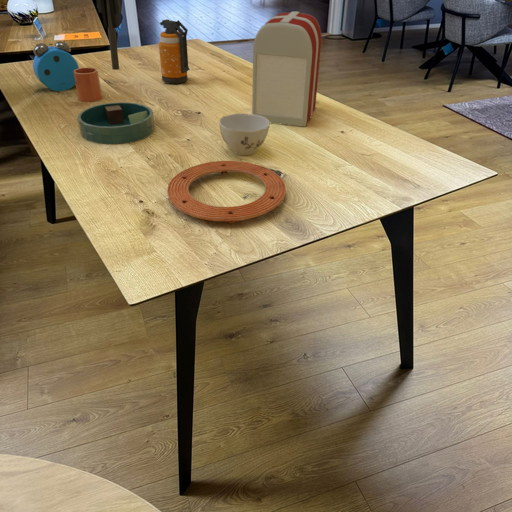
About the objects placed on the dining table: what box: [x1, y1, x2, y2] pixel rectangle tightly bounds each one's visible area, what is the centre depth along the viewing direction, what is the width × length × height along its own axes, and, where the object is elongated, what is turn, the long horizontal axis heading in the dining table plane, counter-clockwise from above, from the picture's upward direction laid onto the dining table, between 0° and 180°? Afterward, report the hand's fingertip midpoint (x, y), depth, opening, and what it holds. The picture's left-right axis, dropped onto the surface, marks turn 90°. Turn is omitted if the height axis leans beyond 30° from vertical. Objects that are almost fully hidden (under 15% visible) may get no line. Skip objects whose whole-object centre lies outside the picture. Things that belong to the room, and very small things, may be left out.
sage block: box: [128, 111, 148, 124], centre depth 129 cm, size 4×4×4 cm
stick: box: [105, 0, 120, 71], centre depth 124 cm, size 2×2×20 cm
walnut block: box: [105, 105, 124, 125], centre depth 135 cm, size 4×4×4 cm
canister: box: [158, 19, 190, 85], centre depth 164 cm, size 9×11×20 cm
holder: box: [73, 67, 103, 103], centre depth 150 cm, size 7×7×9 cm
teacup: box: [218, 112, 271, 156], centre depth 121 cm, size 15×12×8 cm
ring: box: [166, 160, 287, 224], centre depth 103 cm, size 25×25×2 cm
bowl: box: [76, 101, 155, 145], centre depth 130 cm, size 20×20×5 cm
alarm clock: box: [32, 40, 80, 92], centre depth 156 cm, size 13×6×15 cm, turn 125°
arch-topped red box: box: [251, 10, 322, 127], centre depth 137 cm, size 16×18×27 cm
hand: (111, 26), depth 124 cm, fingers closed on stick, 2 cm apart
